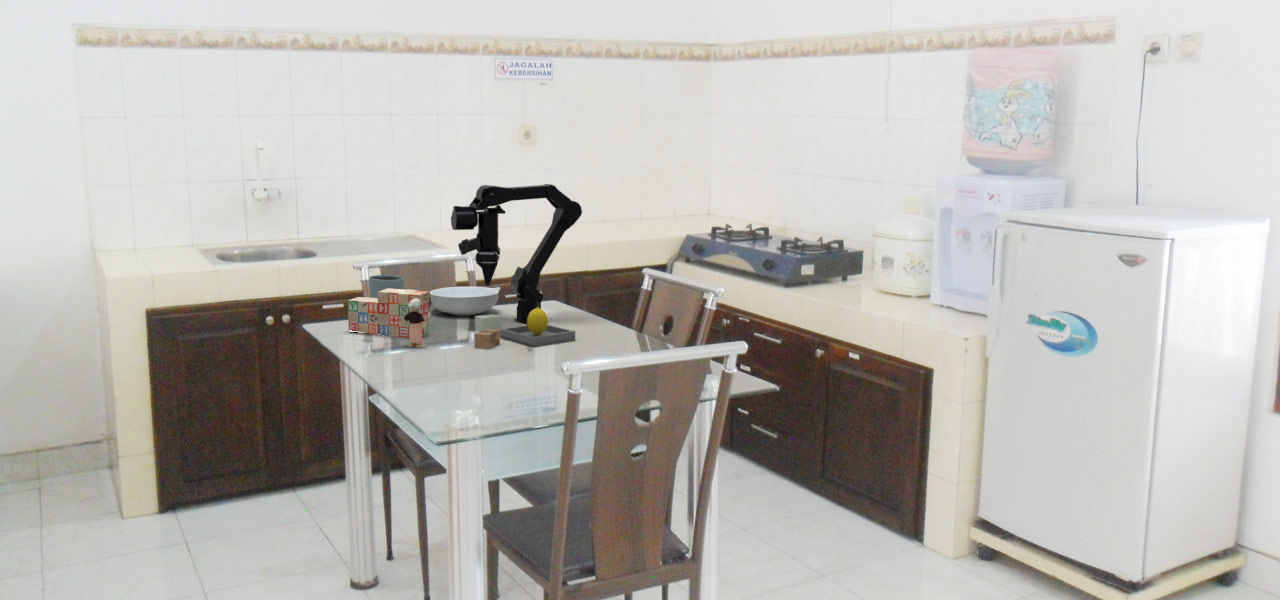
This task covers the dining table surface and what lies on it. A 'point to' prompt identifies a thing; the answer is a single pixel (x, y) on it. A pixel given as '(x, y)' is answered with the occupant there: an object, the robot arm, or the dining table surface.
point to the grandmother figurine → (415, 323)
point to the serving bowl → (464, 300)
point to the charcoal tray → (530, 339)
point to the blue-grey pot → (384, 283)
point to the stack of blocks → (386, 312)
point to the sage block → (487, 322)
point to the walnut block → (487, 338)
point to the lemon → (537, 321)
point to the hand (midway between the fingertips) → (488, 282)
